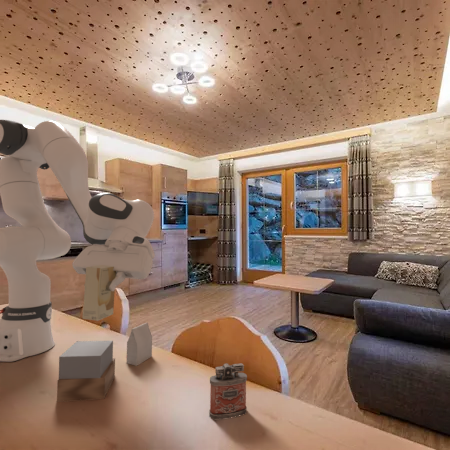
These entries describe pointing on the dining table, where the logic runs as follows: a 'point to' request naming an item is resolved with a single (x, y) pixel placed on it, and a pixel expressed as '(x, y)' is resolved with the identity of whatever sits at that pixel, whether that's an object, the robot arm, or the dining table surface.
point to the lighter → (228, 392)
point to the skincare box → (98, 292)
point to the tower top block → (86, 360)
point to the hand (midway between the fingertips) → (98, 288)
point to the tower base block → (86, 386)
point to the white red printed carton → (139, 345)
